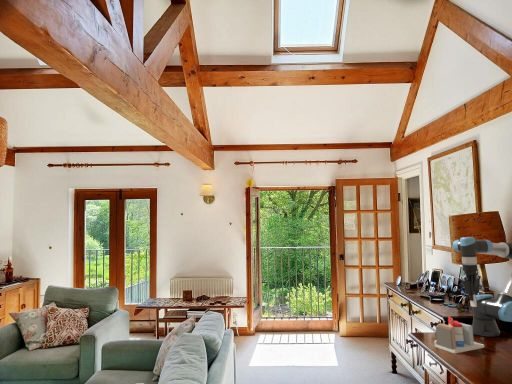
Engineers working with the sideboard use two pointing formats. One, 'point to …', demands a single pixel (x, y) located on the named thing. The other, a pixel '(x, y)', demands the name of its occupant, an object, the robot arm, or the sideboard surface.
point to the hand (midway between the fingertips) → (473, 306)
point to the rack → (451, 340)
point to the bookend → (467, 334)
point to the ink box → (457, 332)
